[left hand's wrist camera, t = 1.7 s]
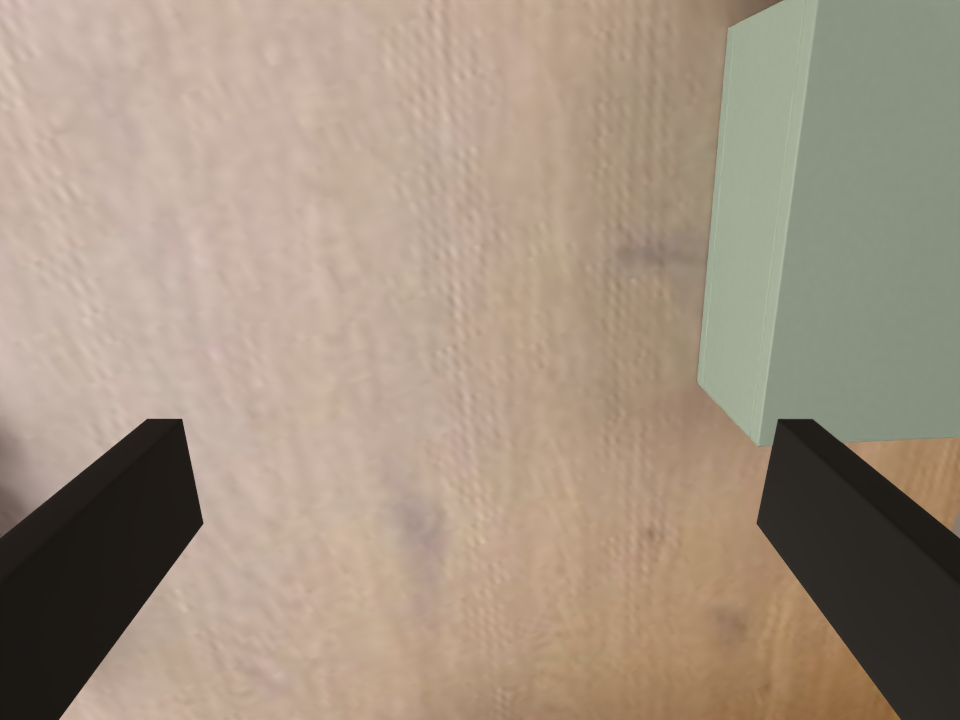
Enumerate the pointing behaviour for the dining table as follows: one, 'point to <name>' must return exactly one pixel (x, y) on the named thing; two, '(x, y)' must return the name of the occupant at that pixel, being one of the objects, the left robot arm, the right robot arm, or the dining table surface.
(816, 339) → the cabinet
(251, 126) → the dining table surface
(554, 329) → the dining table surface
